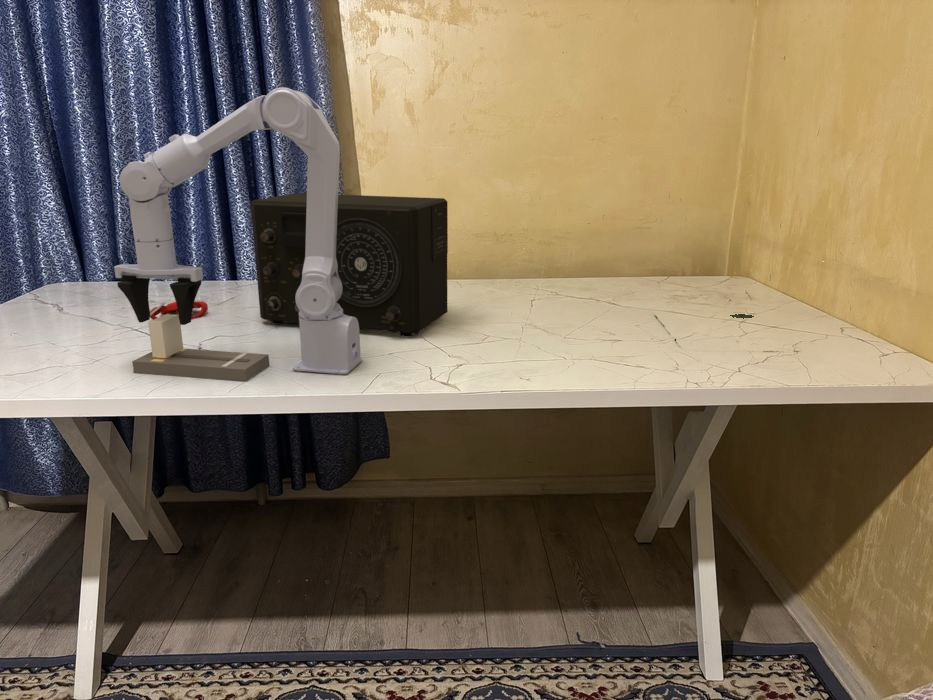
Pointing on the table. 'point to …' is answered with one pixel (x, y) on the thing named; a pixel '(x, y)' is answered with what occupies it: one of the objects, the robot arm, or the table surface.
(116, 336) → the table surface
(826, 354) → the table surface
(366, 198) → the vintage radio
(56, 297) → the table surface
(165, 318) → the fader tab
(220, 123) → the robot arm
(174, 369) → the fader console
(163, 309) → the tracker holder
